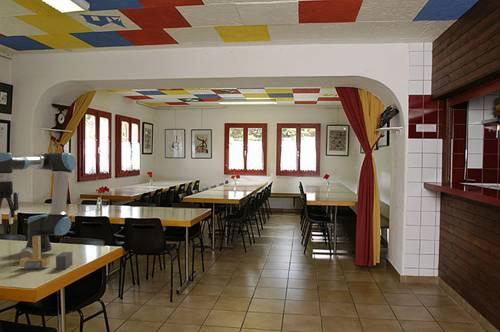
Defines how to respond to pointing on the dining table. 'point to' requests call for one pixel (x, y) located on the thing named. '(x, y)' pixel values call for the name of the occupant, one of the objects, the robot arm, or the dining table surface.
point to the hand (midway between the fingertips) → (5, 223)
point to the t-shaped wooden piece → (36, 253)
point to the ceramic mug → (26, 253)
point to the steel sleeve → (32, 266)
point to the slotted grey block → (63, 260)
